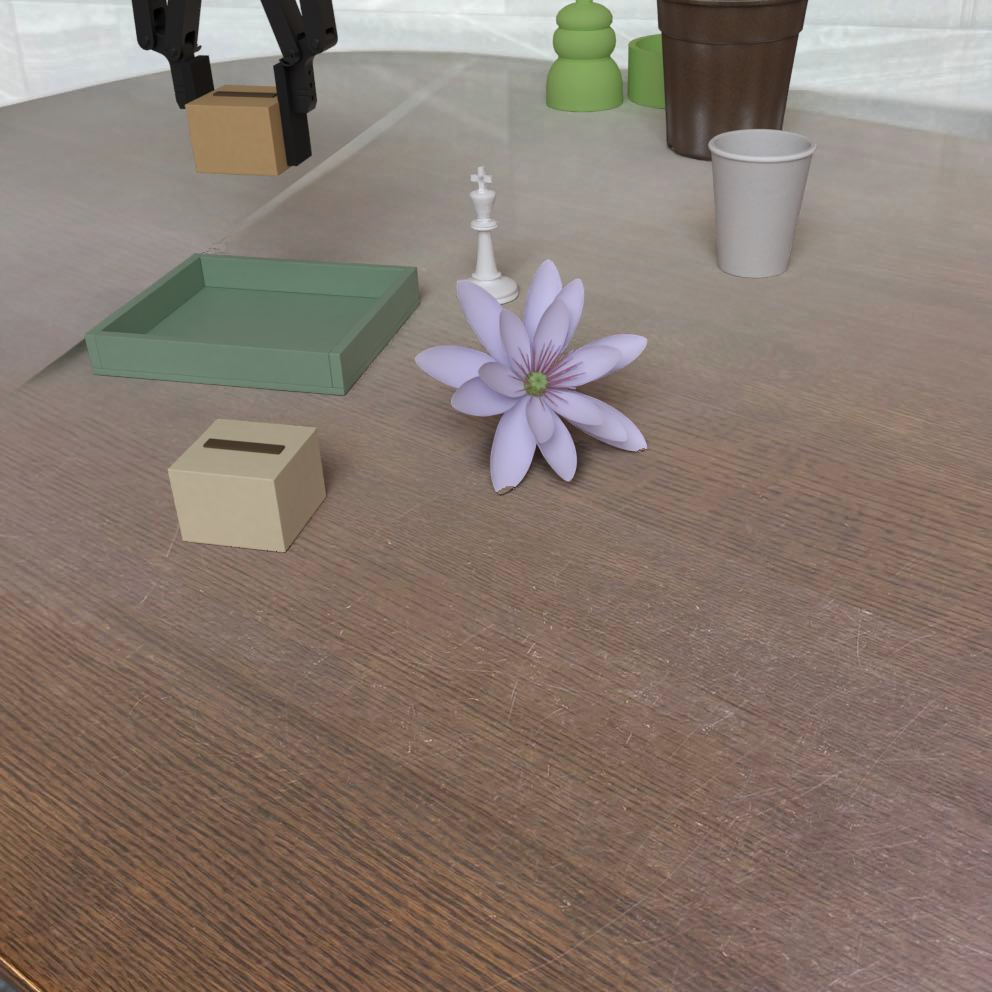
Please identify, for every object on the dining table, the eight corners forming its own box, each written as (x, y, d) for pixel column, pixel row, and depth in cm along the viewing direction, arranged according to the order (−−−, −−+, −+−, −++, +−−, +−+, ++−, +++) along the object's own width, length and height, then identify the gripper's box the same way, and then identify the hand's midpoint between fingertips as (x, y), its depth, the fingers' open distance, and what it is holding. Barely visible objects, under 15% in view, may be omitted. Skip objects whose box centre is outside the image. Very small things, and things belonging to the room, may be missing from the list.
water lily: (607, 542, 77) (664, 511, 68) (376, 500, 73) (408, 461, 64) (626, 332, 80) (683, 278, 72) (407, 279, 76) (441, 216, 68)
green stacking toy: (723, 79, 157) (729, -26, 151) (761, 104, 145) (769, -9, 139) (536, 91, 154) (533, -16, 147) (559, 119, 142) (557, 3, 135)
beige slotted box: (182, 541, 65) (166, 466, 63) (230, 486, 70) (216, 415, 68) (285, 553, 64) (273, 477, 62) (326, 496, 69) (316, 424, 66)
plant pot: (785, 173, 121) (801, 0, 112) (630, 162, 126) (634, -6, 117) (809, 133, 134) (824, -25, 125) (667, 124, 138) (673, -29, 130)
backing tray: (93, 374, 84) (83, 334, 82) (201, 288, 97) (194, 252, 96) (344, 395, 80) (339, 354, 78) (420, 303, 94) (417, 266, 92)
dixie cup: (690, 277, 97) (696, 151, 92) (716, 244, 104) (723, 125, 98) (793, 289, 95) (805, 160, 89) (813, 254, 101) (826, 132, 96)
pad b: (196, 172, 82) (183, 102, 80) (234, 149, 87) (224, 82, 85) (277, 176, 81) (267, 104, 78) (312, 152, 86) (303, 84, 83)
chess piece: (504, 309, 92) (499, 178, 87) (446, 302, 94) (437, 173, 88) (527, 286, 96) (524, 160, 91) (470, 280, 98) (464, 155, 92)
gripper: (368, -241, 72) (401, 149, 85) (86, -232, 76) (158, 140, 89) (321, -241, 66) (364, 180, 79) (17, -231, 70) (104, 168, 83)
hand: (255, 158), depth 84 cm, fingers closed on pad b, 6 cm apart
